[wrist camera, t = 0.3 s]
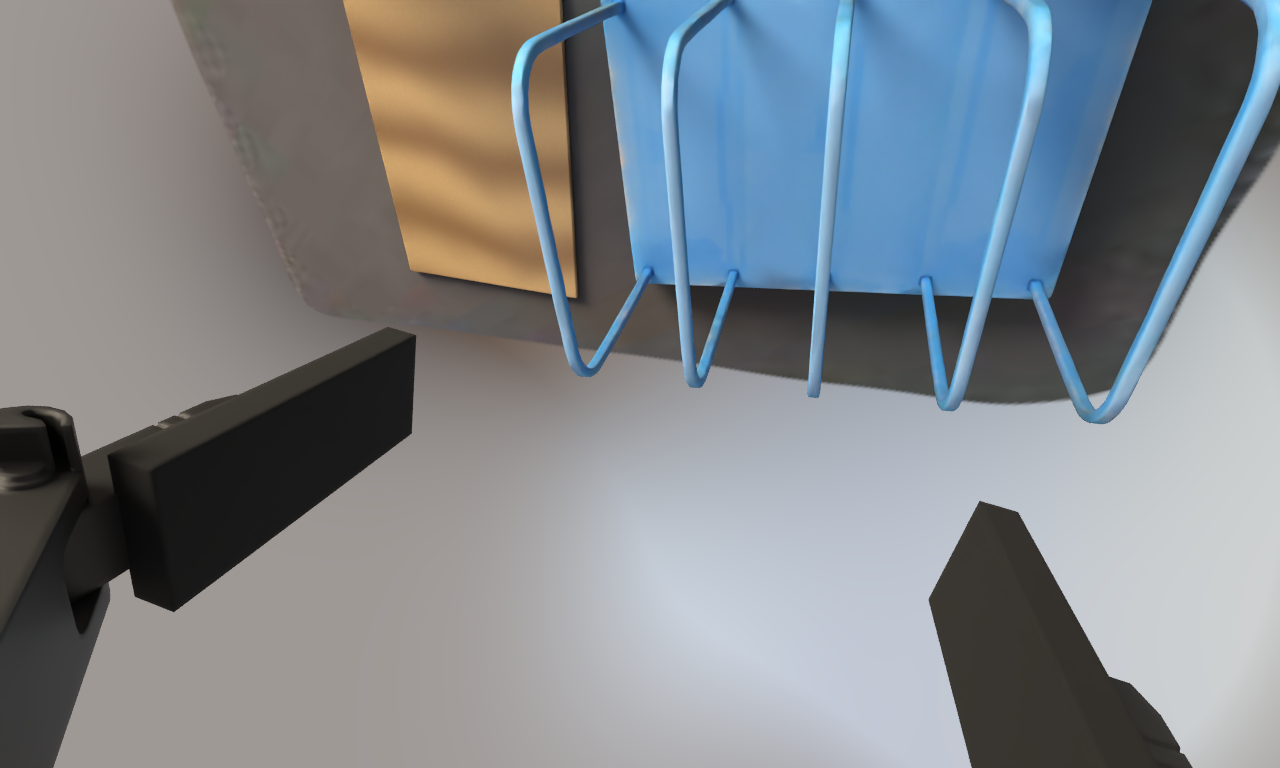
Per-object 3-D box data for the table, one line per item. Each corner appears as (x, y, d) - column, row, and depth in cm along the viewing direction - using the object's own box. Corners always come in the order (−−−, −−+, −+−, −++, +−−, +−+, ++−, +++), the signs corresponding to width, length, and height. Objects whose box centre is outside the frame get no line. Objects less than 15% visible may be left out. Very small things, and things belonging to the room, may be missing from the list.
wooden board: (339, -32, 36) (334, -31, 36) (561, -17, 34) (558, -16, 33) (413, 268, 49) (410, 270, 49) (578, 295, 47) (576, 298, 46)
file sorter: (1163, -77, 26) (1393, -36, 15) (1043, 283, 37) (1124, 468, 25) (607, -18, 33) (474, 41, 22) (642, 271, 44) (565, 411, 32)
